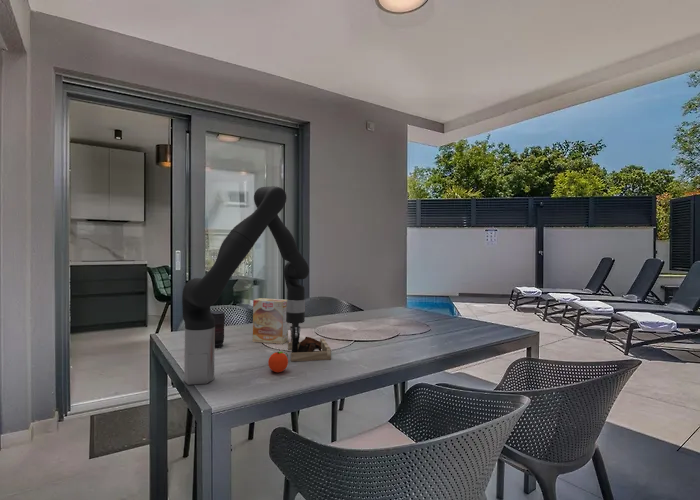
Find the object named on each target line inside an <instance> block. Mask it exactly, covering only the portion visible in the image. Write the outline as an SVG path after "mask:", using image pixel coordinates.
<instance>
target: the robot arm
mask: <svg viewBox="0 0 700 500" xmlns="http://www.w3.org/2000/svg"><path fill="white" fill-rule="evenodd" d="M253 201H254V204H255V207H256V209H255V210H254V211H253V212H252V213H251V214H250V215H248V216H247V217H246V218H244V219H243V220H242V221H240V222H239V223H238V224H236V225H235V226H234V227H233V228H232V229H231V230H230V232H229V233H228V234H227V236H226V237H225V238H224V239H223V241H222V242H221V244H220V246H219V247H220V248H219V250H218V252H217V253H218V254H217V257H216V260H215V262H214V264H213V265H212V267H211V268H210V269H209V270H208V271H207V273H206V274H205V275H204V276H203V277H202V278H200V277H196V278H191V279H189V280H188V281H187V282H186V283H185V284H184V286H183V290H182V293H181V295H182V298H181V299H182V301H181V303H182V306H181V307H182V318H183V322H184V359H183V361H184V362H183V363H184V365H183V366H184V367H183V368H184V376H183V377H184V378H183V379H184V381H183V382H184V383H186V385H187V386H188V385H205V384H208V383H210V382H212V381H213V380H214V379H215V352H216V351H215V350H216V348H215V319H214V317H213V315H212V314H211V311H212V310H211V307H212V306H213V305H215V303H217V301H218V300H219V299H220V297H221V295H222V293H223V292H224V290H225V288H226V286H227V285H228V282H229V281H230V279H231V278H232V276H233V275H234V273H235V272H236V271H237V269H238V268H239V267H240V265H241V263H242V262H243V261H244V259H245V258H246V257H247V255H249V252H251V250H252V248H254V246H255V245H256V242H257V241H258V240H259V238H260V237H261V235H262V234H263V233H264V232H265V230H266V228H268V229H269V231H270V232H271V235H272V236H273V238H274V241H275V243H276V245H277V248H278V252H279V253H280V256H281V258H282V259H283V260H285V261H287V262H286V264H285V265H284V267H283V276H284V282H285V287H286V290H287V292H286V293H287V294H286V297H287V299H286V300H287V305H286V322H287V323H288V324H291V325H290V326H289V331H290V340H291V341H290V342H292V350H291V353H296V352H298V344H299V342H300V336H301V334H300V333H301V326H300V324H303V323H305V321H306V320H305V319H306V318H305V316H306V314H305V313H306V311H305V309H306V301H305V287H304V285H302V284H300V282H299V281H298V280H305V279H306V278H308V276H309V274H310V268H309V263H308V262H307V261H306V259H305V258H304V257H303V254H301V252H300V251H299V249H298V246H297V243H296V240H295V239H294V238H295V237H294V236H293V234H292V233H291V231H290V230H289V229H288V227H287V226H286V225H285V223H284V222H283V221H282V219H281V218H280V216H279V213H280V212H281V211H282V210H283V209H284V207H285V205H286V202H287V193H286V191H285V189H283V188H282V187H280V186H273V185H272V186H262V187H261V186H260V187H259V188H257V189H256V190H255V191H254V194H253Z"/></svg>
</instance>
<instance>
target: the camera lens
mask: <svg viewBox="0 0 700 500" xmlns="http://www.w3.org/2000/svg"><path fill="white" fill-rule="evenodd" d="M211 314H212V315H213V317H214V319H215V349H217V348H221V347H223V345H224V341H225V322H226V320H225V319H226V315H225V311H221V310H211Z"/></svg>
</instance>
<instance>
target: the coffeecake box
mask: <svg viewBox="0 0 700 500" xmlns="http://www.w3.org/2000/svg"><path fill="white" fill-rule="evenodd" d="M252 301H253V304H252V305H253V307H252V342H253V343H261V344H262V343H263V344H273V343H276V345H284V344H285V343H287V342H288V341H289V323H287V322H286V305H287V299H279V298H263V297H262V298H261V297H258V298H255V299H253V300H252ZM286 341H287V342H286ZM283 343H284V344H283Z"/></svg>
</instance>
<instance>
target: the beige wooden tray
mask: <svg viewBox="0 0 700 500" xmlns="http://www.w3.org/2000/svg"><path fill="white" fill-rule="evenodd" d="M318 341H319V342H321V349H322V350H321V351H319V350H318V351H314V352H296V353H292V352H290V362H306V361H307V362H309V361H312V362H313V361H331V360H332V349H331V347H330V346H329V344H328V343H327V341H326V340H325V338H320V340H318ZM300 343H301V341H299V344H298V349H299V345H300ZM306 346H308V345H306ZM287 350H288V351H292V342H291V341H289V342H288V341H287Z"/></svg>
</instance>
